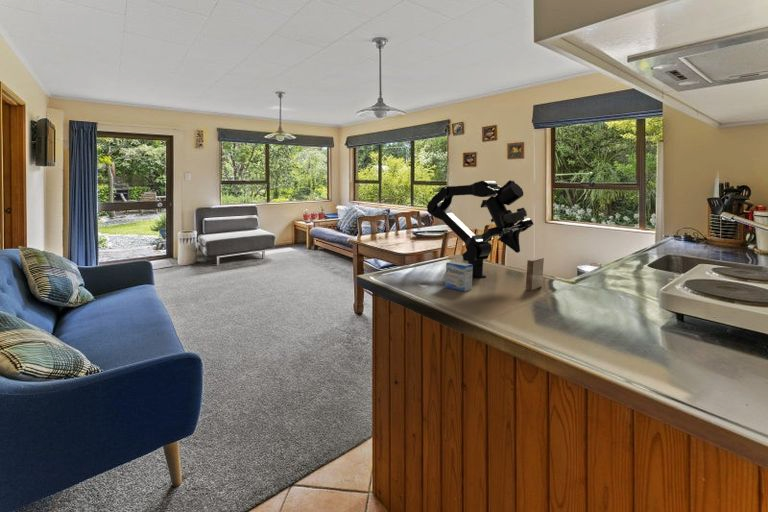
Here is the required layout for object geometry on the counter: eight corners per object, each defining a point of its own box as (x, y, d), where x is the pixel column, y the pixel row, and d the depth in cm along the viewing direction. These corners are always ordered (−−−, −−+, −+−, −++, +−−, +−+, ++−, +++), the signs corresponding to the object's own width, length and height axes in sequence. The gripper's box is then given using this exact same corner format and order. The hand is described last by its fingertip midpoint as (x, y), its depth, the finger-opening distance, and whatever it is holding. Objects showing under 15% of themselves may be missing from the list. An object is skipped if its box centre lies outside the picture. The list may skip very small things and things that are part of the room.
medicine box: (444, 287, 139) (445, 262, 137) (452, 285, 142) (453, 260, 140) (464, 291, 133) (465, 265, 132) (472, 289, 136) (473, 263, 135)
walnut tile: (525, 289, 136) (527, 260, 134) (536, 285, 140) (538, 257, 139) (531, 290, 134) (533, 261, 132) (541, 287, 139) (543, 258, 137)
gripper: (489, 206, 133) (510, 249, 128) (532, 195, 140) (553, 236, 136) (473, 221, 142) (492, 262, 138) (514, 211, 150) (533, 249, 145)
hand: (518, 252), depth 139 cm, fingers closed
